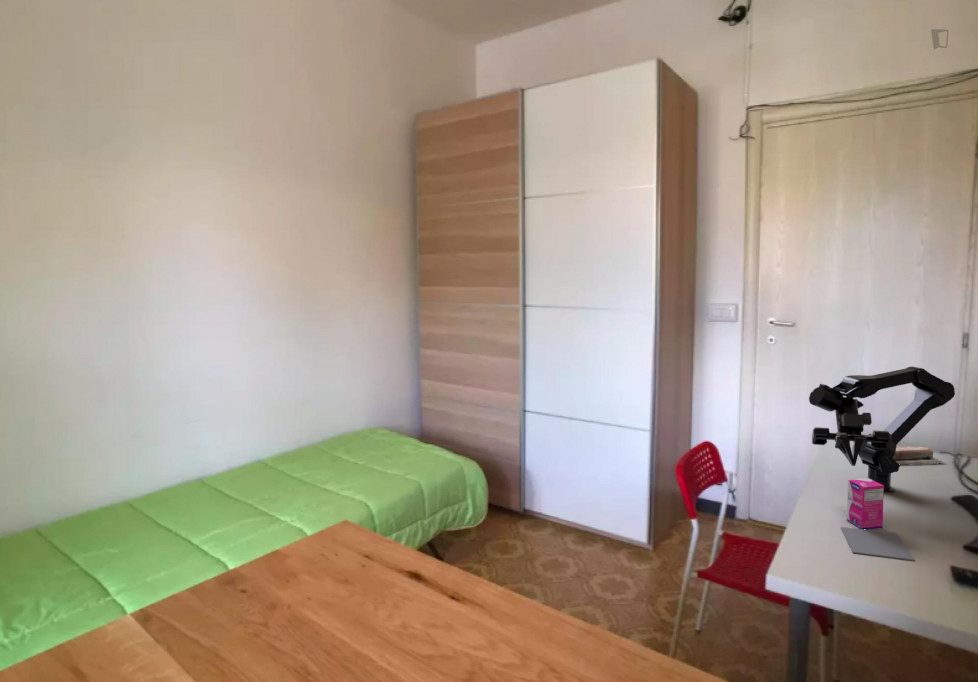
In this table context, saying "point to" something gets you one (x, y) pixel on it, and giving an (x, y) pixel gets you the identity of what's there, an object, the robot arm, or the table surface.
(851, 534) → the mat
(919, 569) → the table surface
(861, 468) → the table surface
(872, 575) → the table surface
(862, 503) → the supplement box
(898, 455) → the packaged product
